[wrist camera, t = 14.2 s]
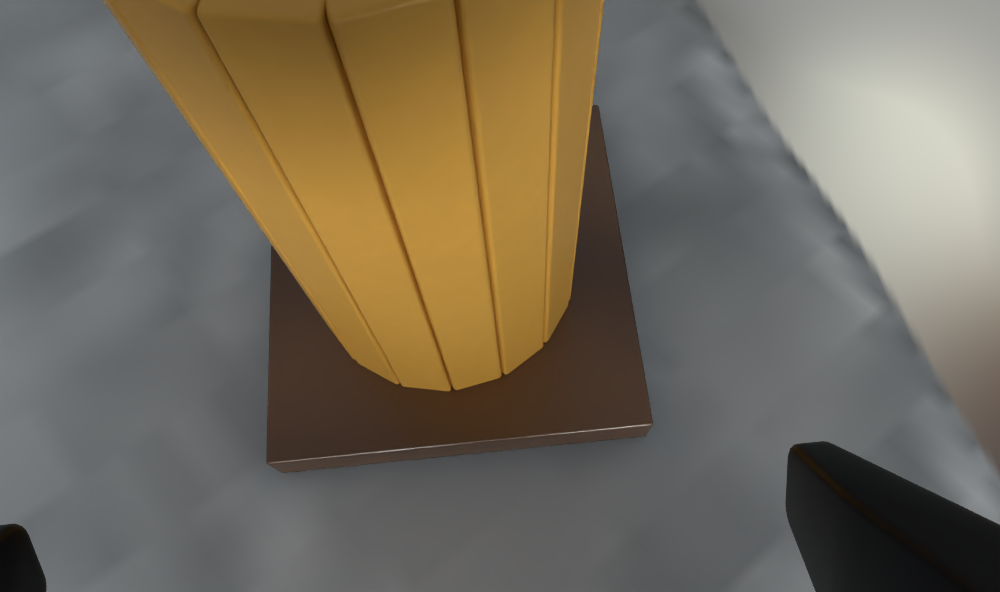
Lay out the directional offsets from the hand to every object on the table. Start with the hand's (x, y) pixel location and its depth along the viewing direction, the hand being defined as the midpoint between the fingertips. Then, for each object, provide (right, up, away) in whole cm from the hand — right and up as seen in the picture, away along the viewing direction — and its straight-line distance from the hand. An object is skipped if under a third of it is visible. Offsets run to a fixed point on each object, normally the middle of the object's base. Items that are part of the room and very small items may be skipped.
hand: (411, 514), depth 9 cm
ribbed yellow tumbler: (0, +3, +11) cm, 11 cm away
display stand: (0, +3, +12) cm, 12 cm away
